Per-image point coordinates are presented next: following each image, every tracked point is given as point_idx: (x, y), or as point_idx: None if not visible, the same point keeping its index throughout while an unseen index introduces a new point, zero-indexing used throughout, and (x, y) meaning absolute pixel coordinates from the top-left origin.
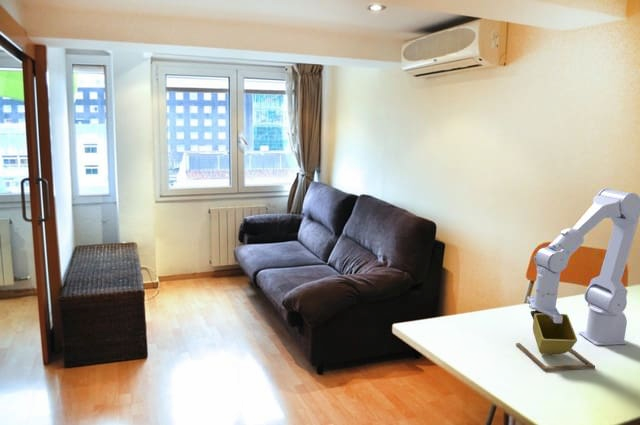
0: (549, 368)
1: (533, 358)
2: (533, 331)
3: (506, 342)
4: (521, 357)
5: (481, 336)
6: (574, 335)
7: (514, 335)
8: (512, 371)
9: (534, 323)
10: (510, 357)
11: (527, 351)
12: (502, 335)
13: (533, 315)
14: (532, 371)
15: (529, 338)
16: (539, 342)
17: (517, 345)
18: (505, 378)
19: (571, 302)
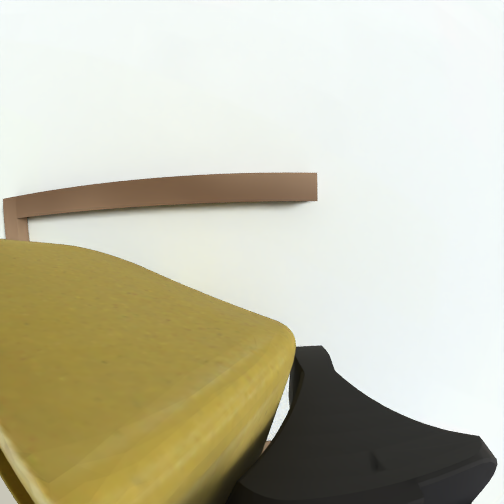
0: (6, 228)
1: (83, 186)
2: (256, 318)
3: (365, 134)
4: (142, 132)
5: (433, 38)
6: (4, 480)
7: (446, 248)
8: (35, 47)
9: (142, 350)
10: (150, 64)
11: (174, 191)
12: (453, 168)
13: (399, 462)
14: (16, 138)
15: (397, 324)
16: (35, 247)
17: (294, 173)
18: (12, 19)
19: (500, 497)
